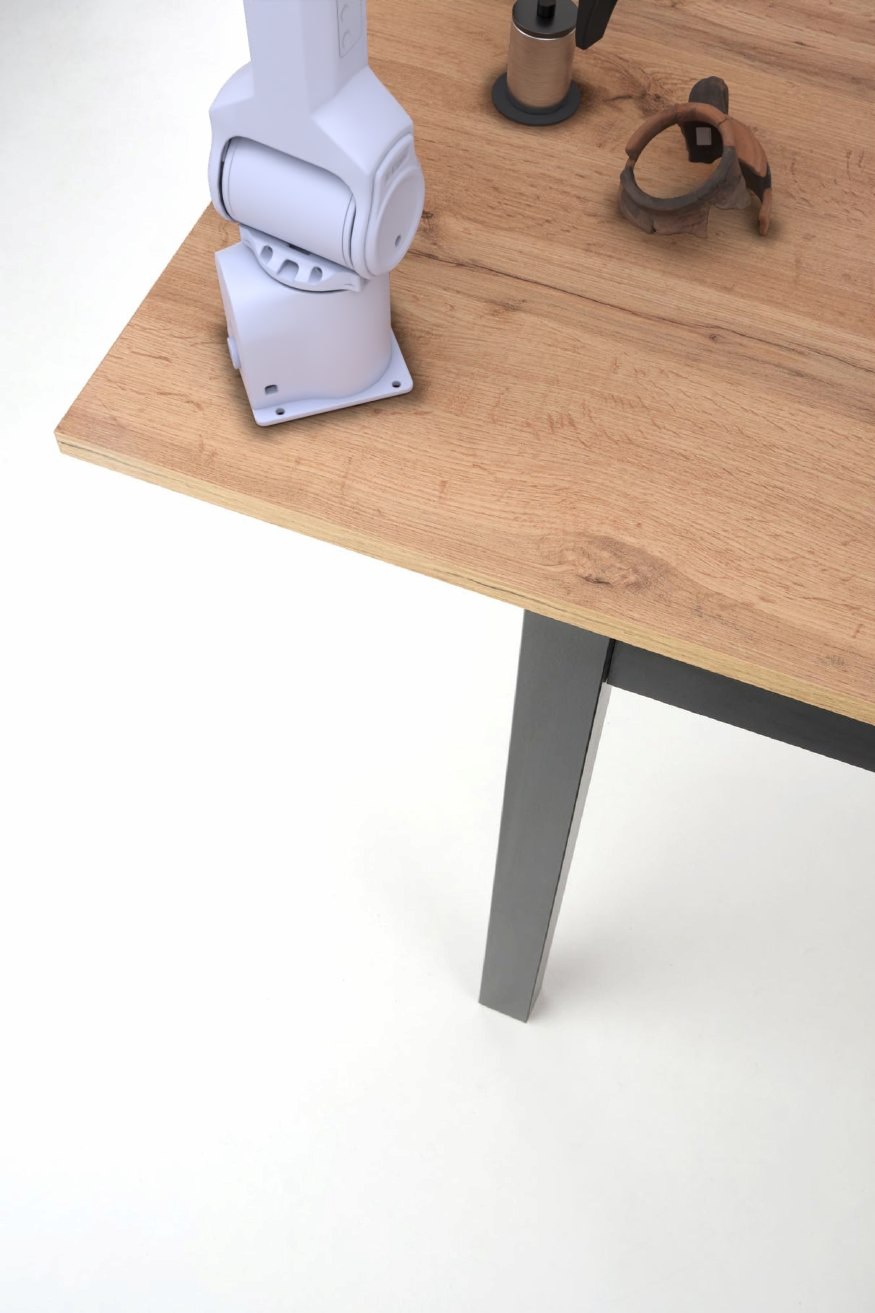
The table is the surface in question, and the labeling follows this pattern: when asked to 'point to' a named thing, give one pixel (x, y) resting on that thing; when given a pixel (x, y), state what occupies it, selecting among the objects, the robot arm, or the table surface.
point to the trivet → (533, 119)
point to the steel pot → (541, 54)
